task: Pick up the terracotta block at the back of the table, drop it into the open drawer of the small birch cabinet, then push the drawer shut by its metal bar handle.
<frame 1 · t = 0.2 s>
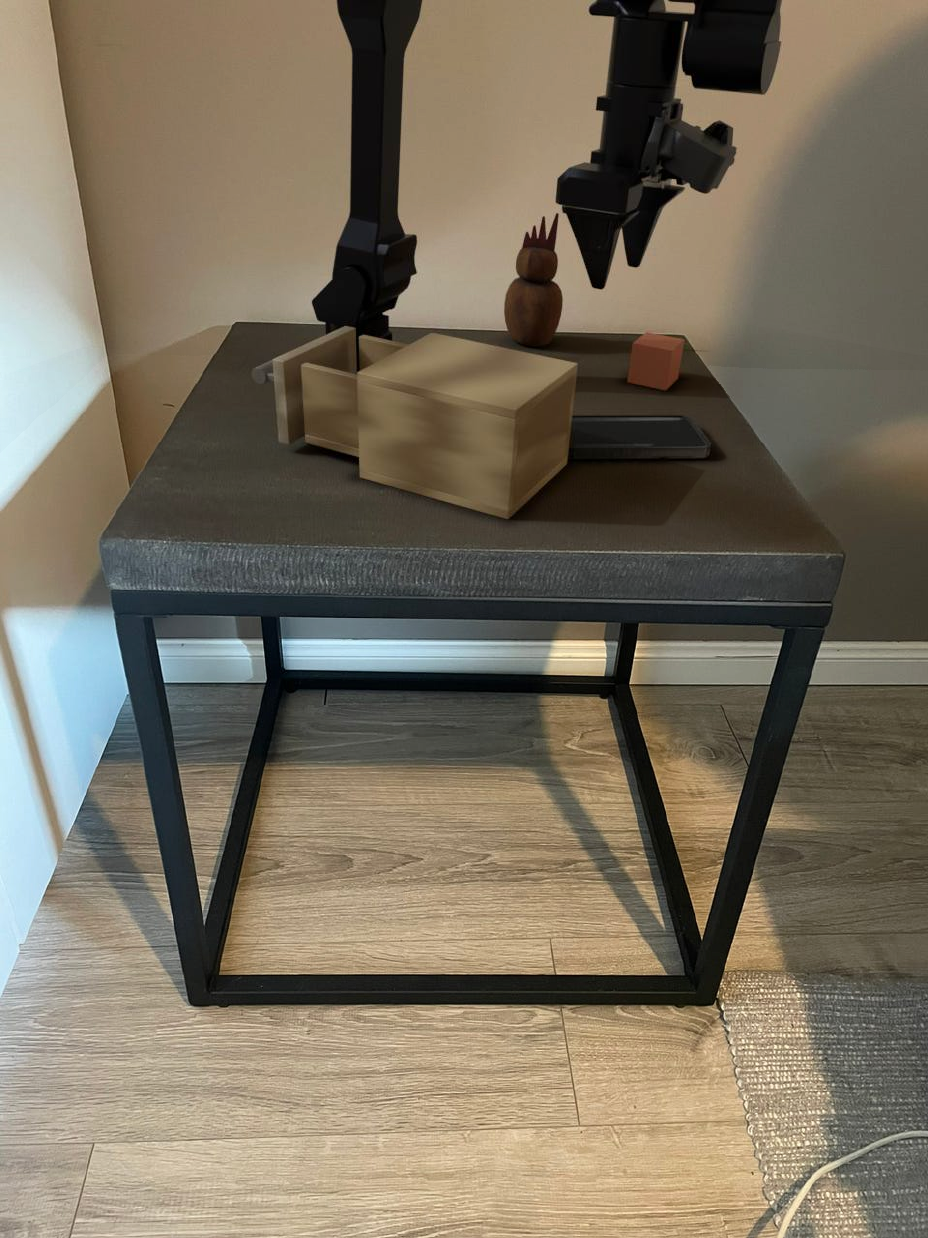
hand: (616, 277, 87), 15 cm above the table, tool pointing down, fingers open, 9 cm apart
wooden figurine: (530, 343, 116), on the table
cabinet: (465, 470, 86), on the table
block: (652, 380, 107), on the table
phone: (625, 443, 92), on the table
drawer: (353, 392, 87), point 5 cm above the table, slide at 8.0 cm
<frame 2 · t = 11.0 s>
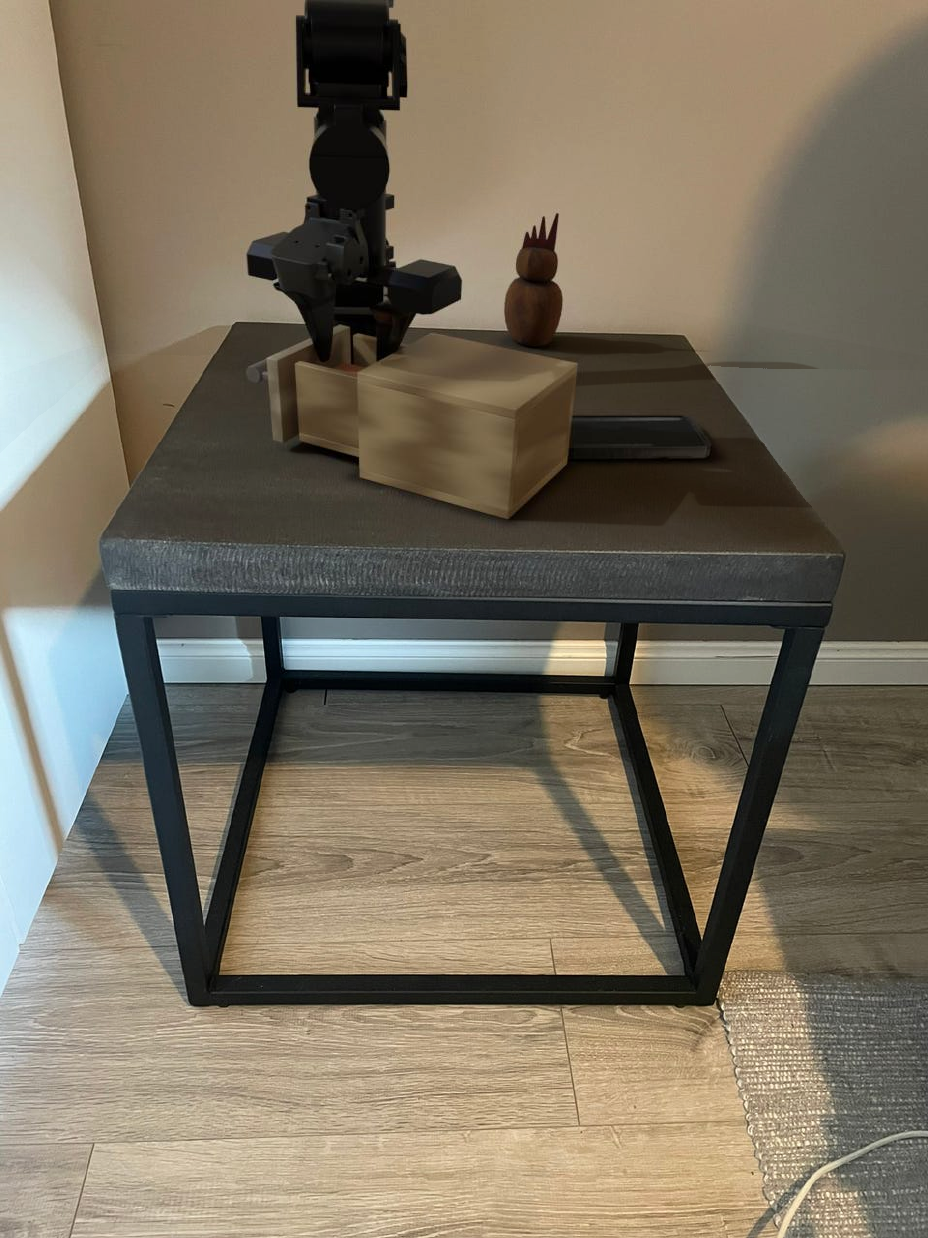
hand: (353, 368, 86), 7 cm above the table, tool pointing down, fingers open, 6 cm apart
block: (352, 420, 89), point 2 cm above the table, touching drawer
drawer: (347, 391, 88), point 5 cm above the table, slide at 8.7 cm, touching block
everything else where it was.
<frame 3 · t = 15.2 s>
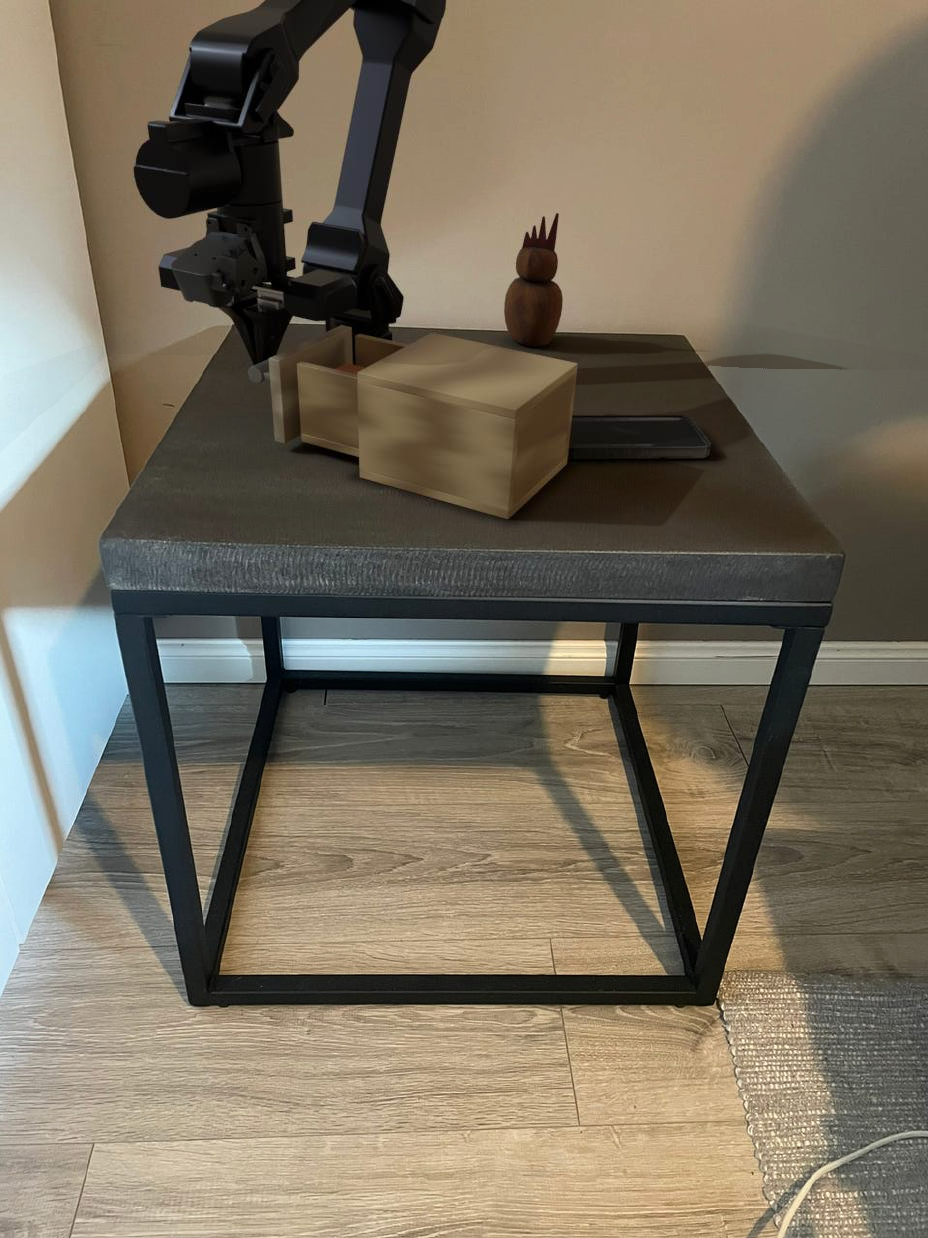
hand: (263, 372, 91), 5 cm above the table, tool pointing down, fingers closed
drawer: (349, 391, 88), point 5 cm above the table, slide at 8.4 cm, touching block, gripper
everything else where it was.
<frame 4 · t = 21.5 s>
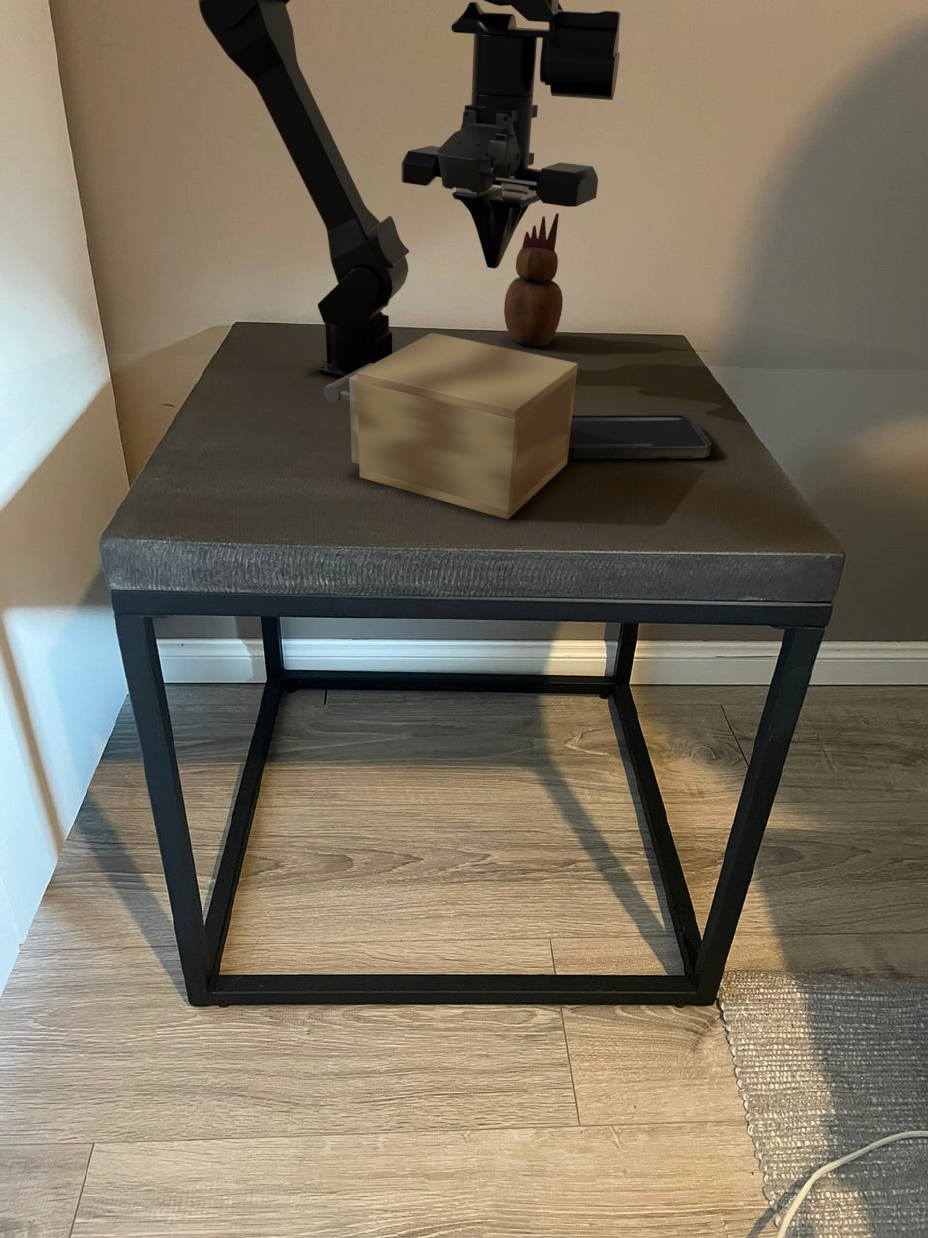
hand: (492, 267, 96), 12 cm above the table, tool pointing down, fingers closed
block: (432, 441, 86), point 2 cm above the table, touching drawer
drawer: (429, 411, 85), point 5 cm above the table, slide at 0.0 cm, touching block, cabinet
everything else where it was.
at the end: block inside the target area in the cabinet (3.0 cm from its centre), point 2.0 cm above the cabinet's base; drawer slide at 0.0 cm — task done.
